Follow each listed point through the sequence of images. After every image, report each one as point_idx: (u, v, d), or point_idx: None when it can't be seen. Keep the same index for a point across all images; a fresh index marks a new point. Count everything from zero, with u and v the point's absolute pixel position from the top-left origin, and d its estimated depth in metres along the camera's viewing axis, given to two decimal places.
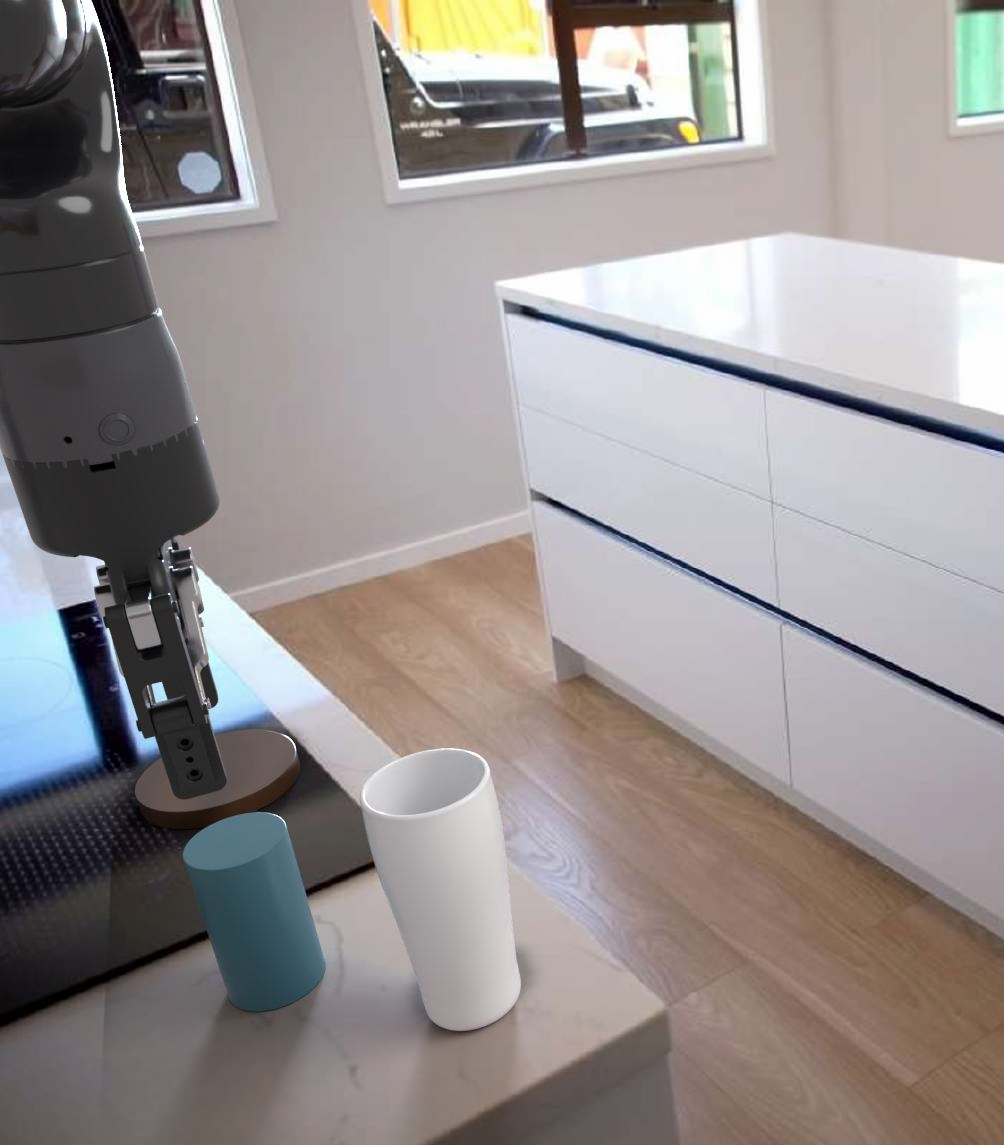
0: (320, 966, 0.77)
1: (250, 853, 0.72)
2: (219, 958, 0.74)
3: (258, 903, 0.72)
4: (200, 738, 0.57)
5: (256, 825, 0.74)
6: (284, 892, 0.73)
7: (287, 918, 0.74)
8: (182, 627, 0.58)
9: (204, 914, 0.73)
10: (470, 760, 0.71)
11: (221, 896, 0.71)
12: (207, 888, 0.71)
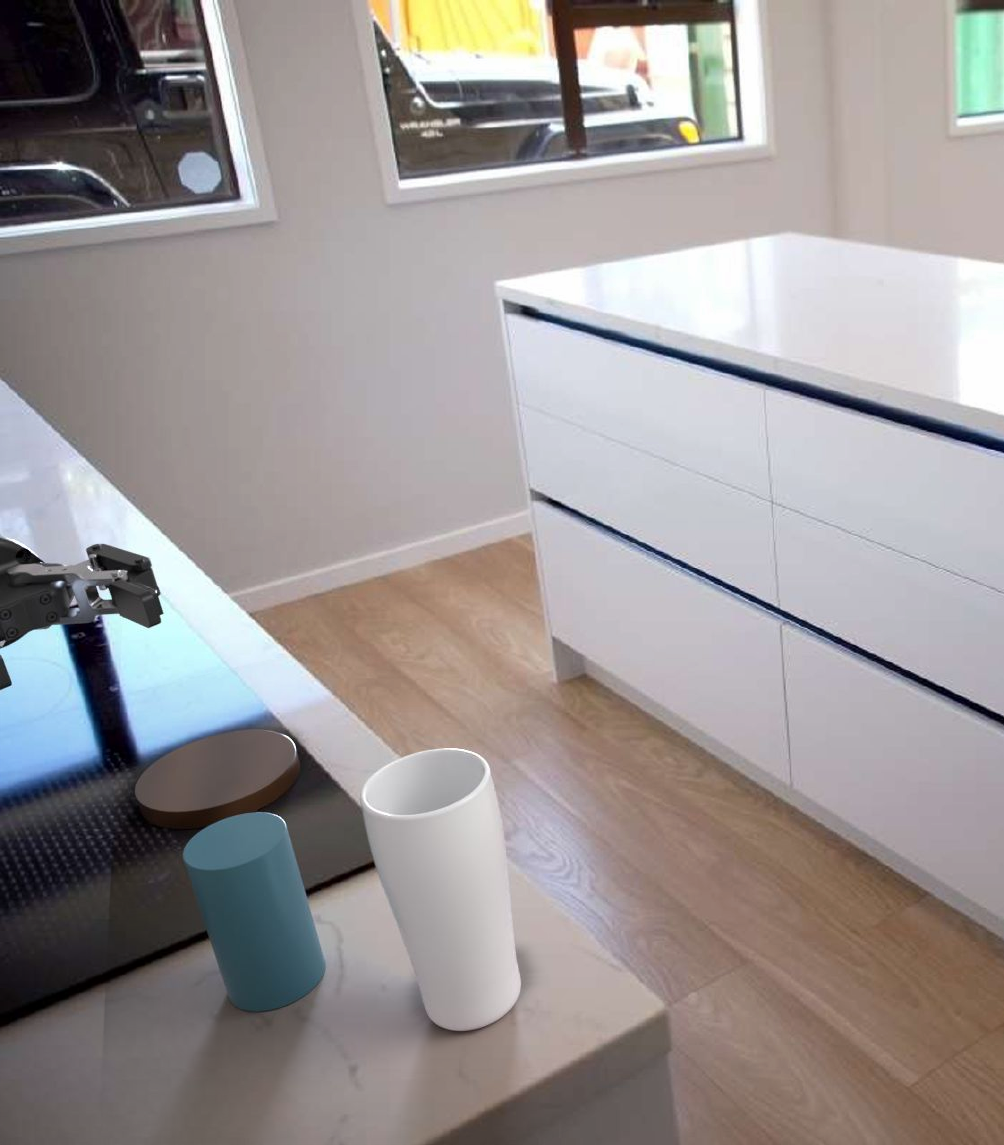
0: (320, 966, 0.77)
1: (250, 853, 0.72)
2: (219, 958, 0.74)
3: (258, 903, 0.72)
4: None
5: (256, 825, 0.74)
6: (284, 892, 0.73)
7: (287, 918, 0.74)
8: None
9: (204, 914, 0.73)
10: (470, 760, 0.71)
11: (221, 896, 0.71)
12: (207, 888, 0.71)
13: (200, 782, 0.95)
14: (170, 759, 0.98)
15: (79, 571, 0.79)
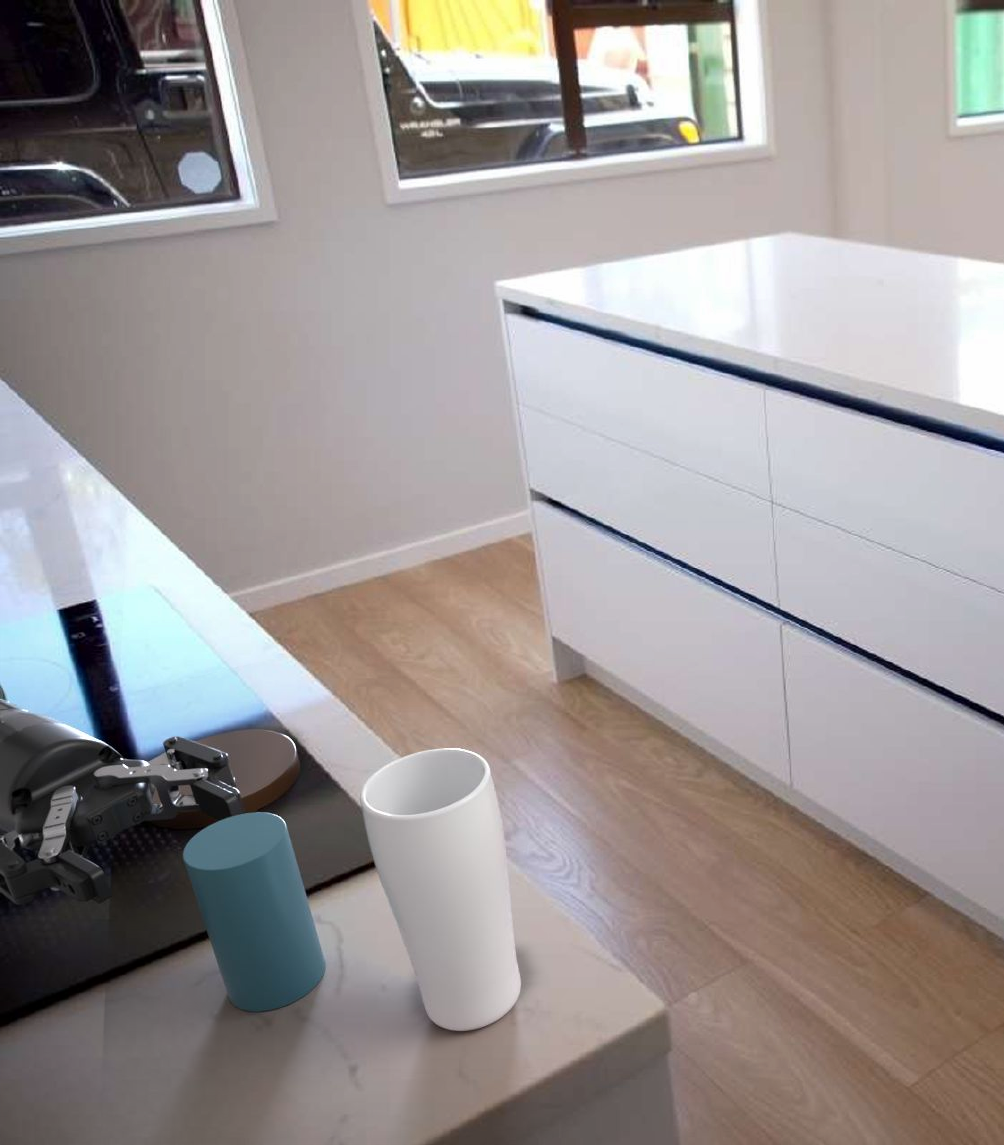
0: (320, 966, 0.77)
1: (250, 853, 0.72)
2: (219, 958, 0.74)
3: (258, 903, 0.72)
4: None
5: (256, 825, 0.74)
6: (284, 892, 0.73)
7: (287, 918, 0.74)
8: None
9: (204, 914, 0.73)
10: (470, 760, 0.71)
11: (221, 896, 0.71)
12: (207, 888, 0.71)
13: None
14: None
15: (163, 772, 0.84)
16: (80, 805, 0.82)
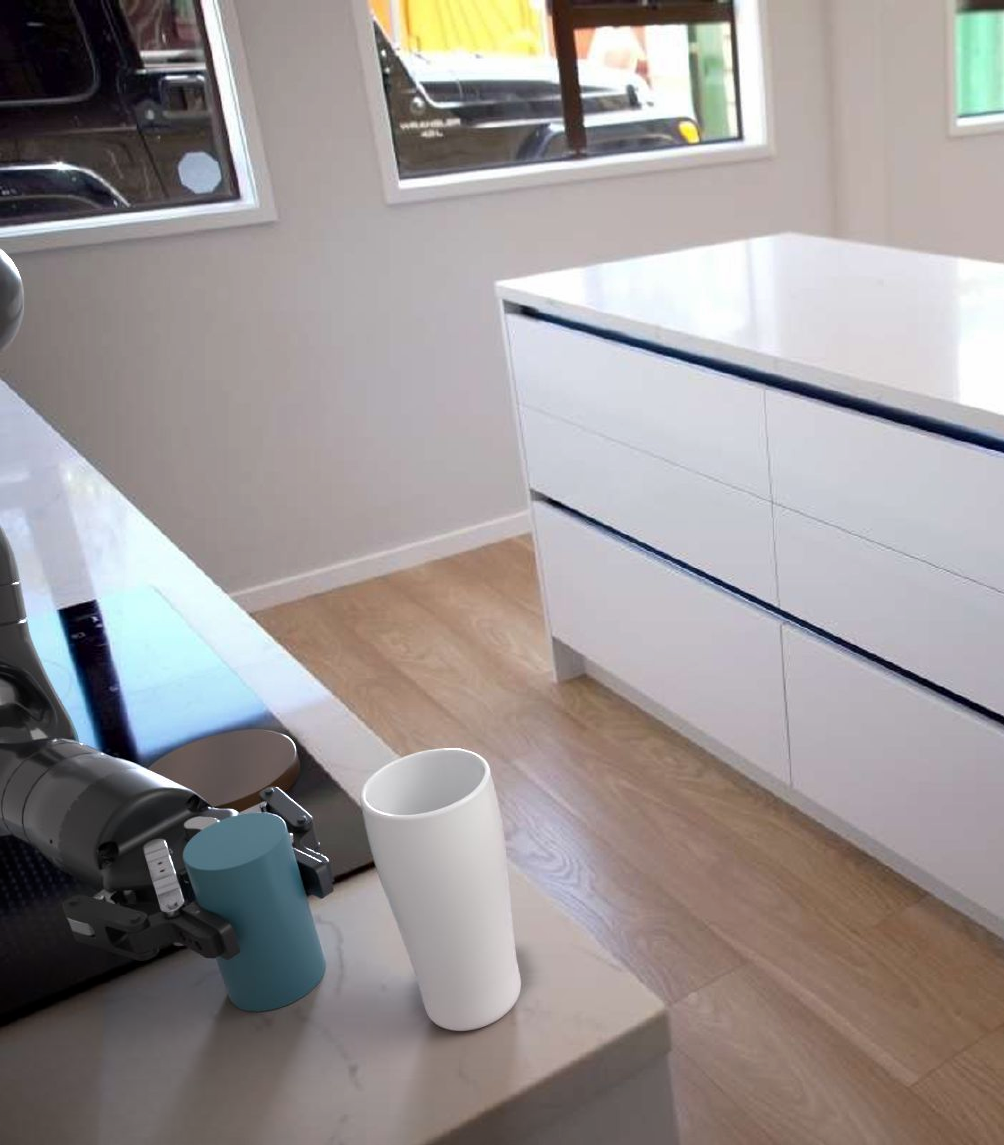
0: (320, 966, 0.77)
1: (250, 854, 0.72)
2: (219, 958, 0.74)
3: (258, 904, 0.72)
4: None
5: (256, 825, 0.74)
6: (284, 892, 0.73)
7: (287, 918, 0.74)
8: None
9: None
10: (470, 760, 0.71)
11: (221, 896, 0.71)
12: (207, 888, 0.71)
13: (200, 782, 0.95)
14: (170, 759, 0.98)
15: None
16: (171, 860, 0.77)
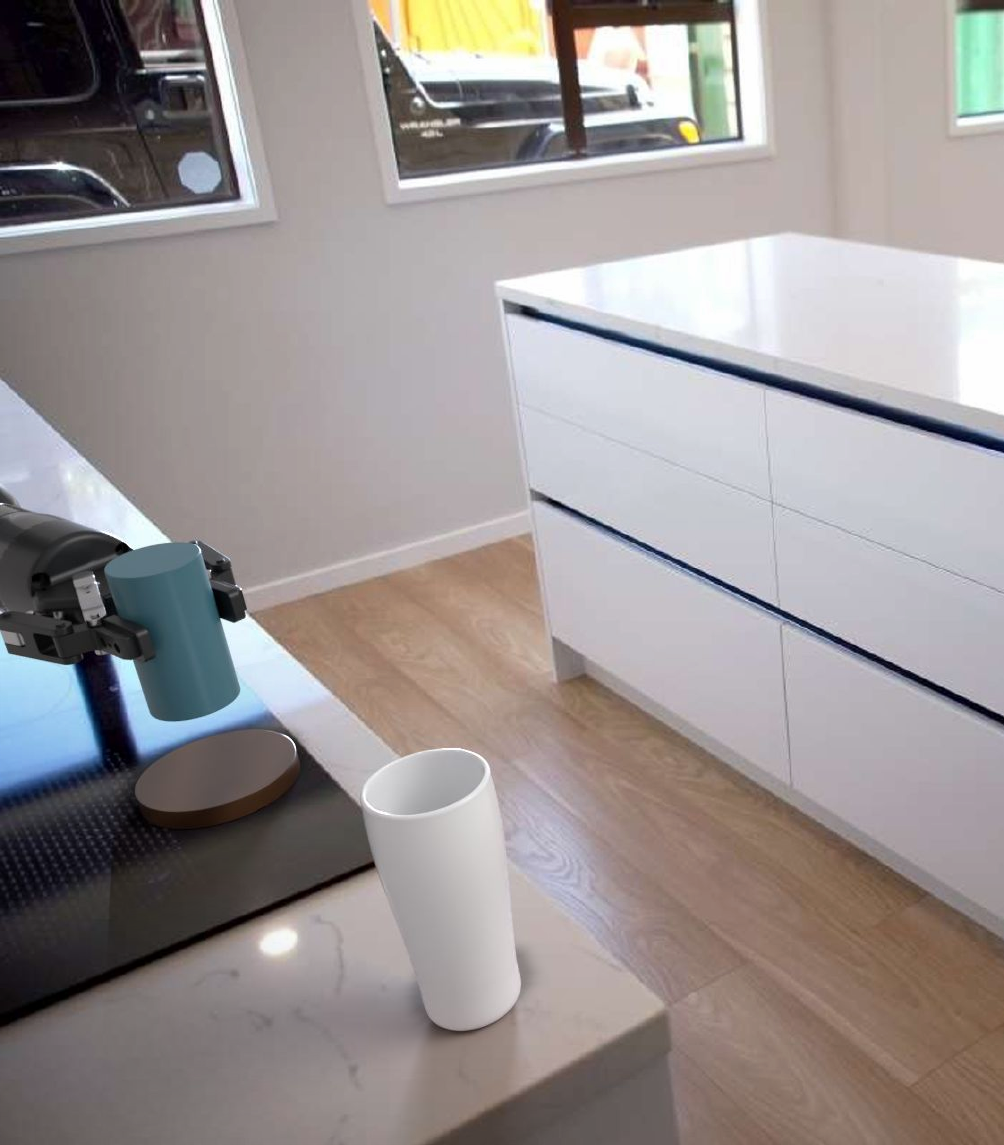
0: (234, 688, 0.84)
1: (165, 567, 0.79)
2: (139, 669, 0.81)
3: (173, 614, 0.79)
4: None
5: (173, 550, 0.81)
6: (198, 608, 0.80)
7: (200, 633, 0.81)
8: None
9: None
10: (470, 760, 0.71)
11: (138, 604, 0.78)
12: (125, 597, 0.78)
13: (200, 782, 0.95)
14: (170, 759, 0.98)
15: None
16: (97, 588, 0.84)
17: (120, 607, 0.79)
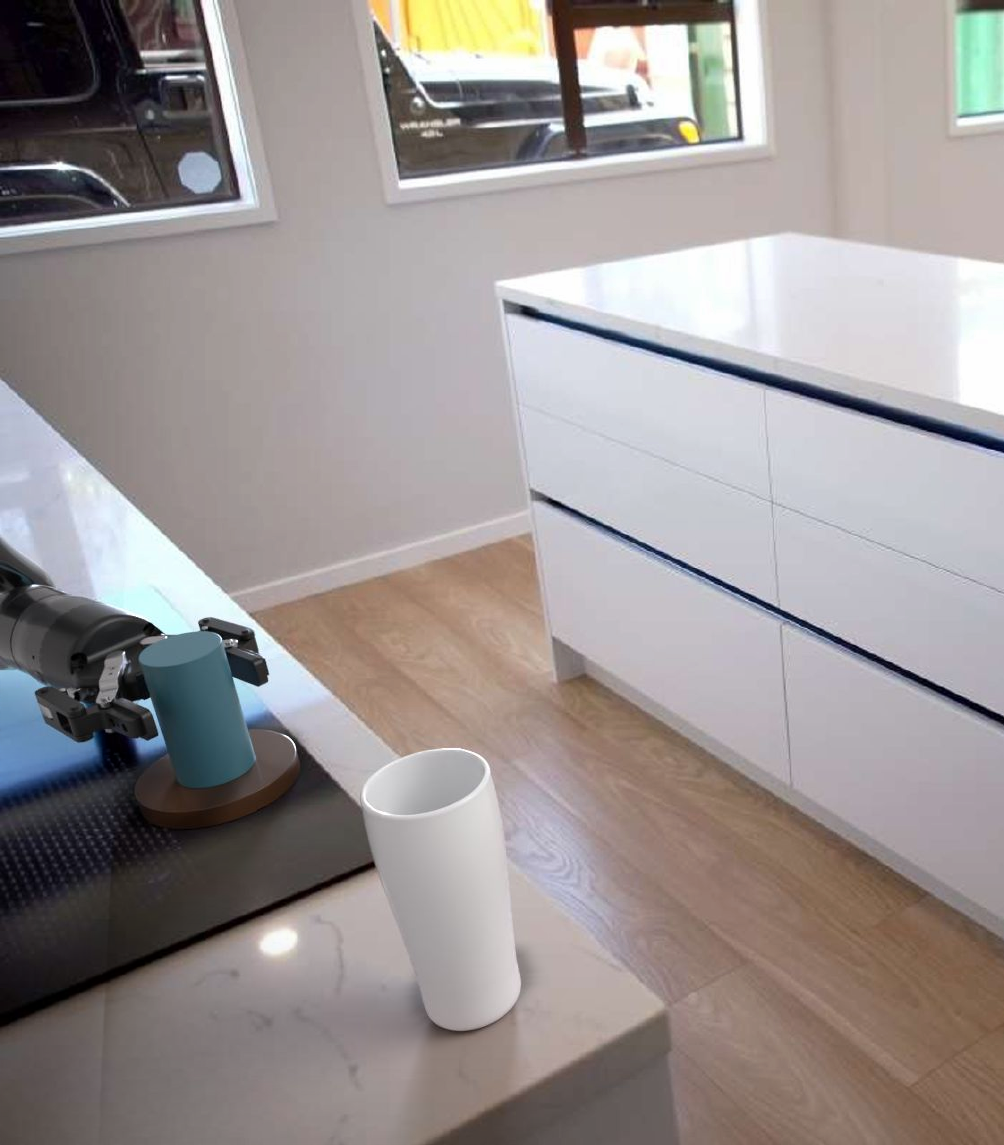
0: (251, 757, 0.96)
1: (191, 656, 0.91)
2: (168, 743, 0.93)
3: (198, 697, 0.91)
4: None
5: (198, 639, 0.93)
6: (219, 690, 0.93)
7: (222, 711, 0.93)
8: None
9: (155, 706, 0.92)
10: (470, 760, 0.71)
11: (168, 689, 0.91)
12: (157, 682, 0.90)
13: None
14: None
15: None
16: (129, 666, 0.95)
17: (152, 691, 0.91)
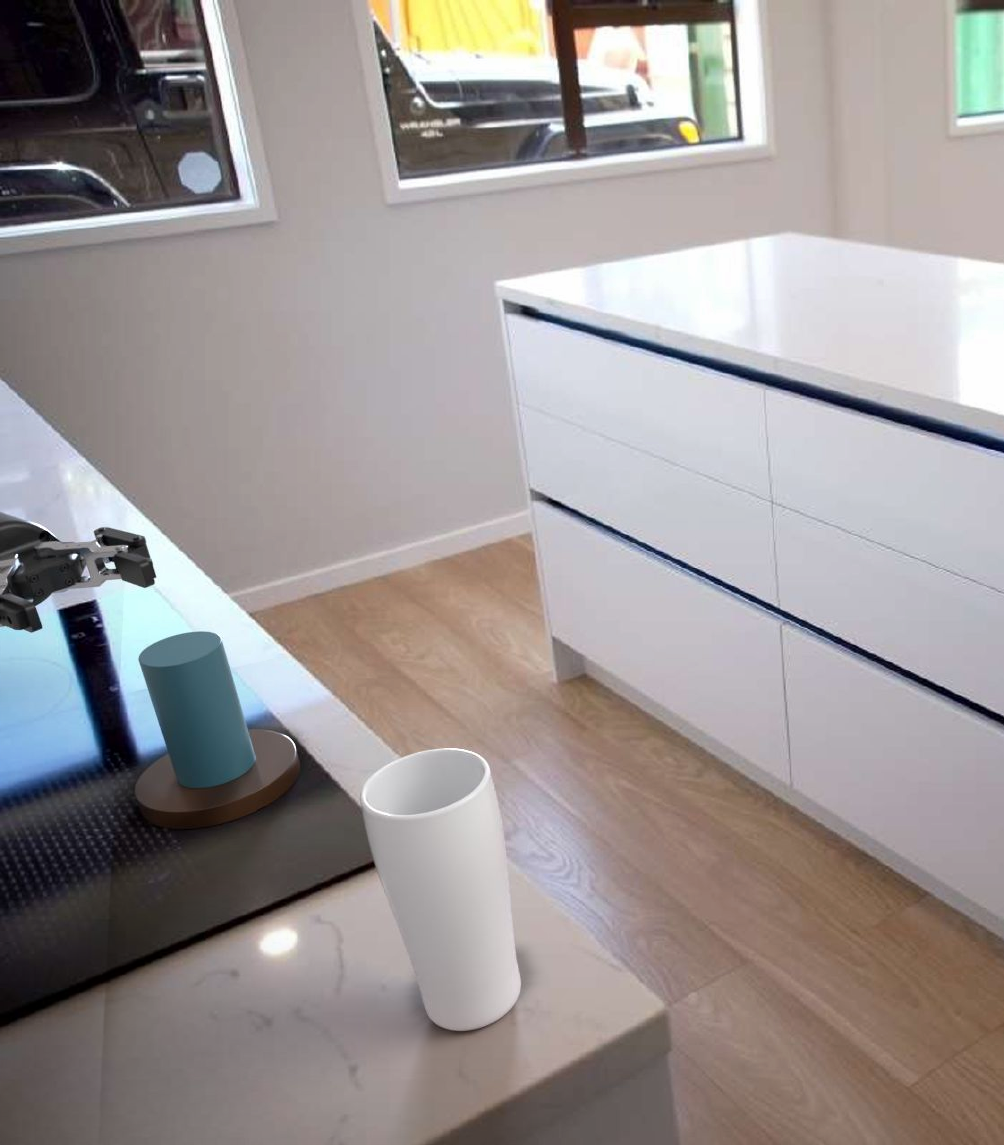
0: (251, 757, 0.96)
1: (191, 656, 0.91)
2: (168, 743, 0.93)
3: (198, 697, 0.91)
4: None
5: (198, 639, 0.93)
6: (219, 690, 0.93)
7: (222, 711, 0.93)
8: None
9: (155, 706, 0.92)
10: (470, 760, 0.71)
11: (168, 689, 0.91)
12: (157, 682, 0.90)
13: None
14: None
15: (90, 546, 1.02)
16: (21, 568, 1.00)
17: (152, 691, 0.91)
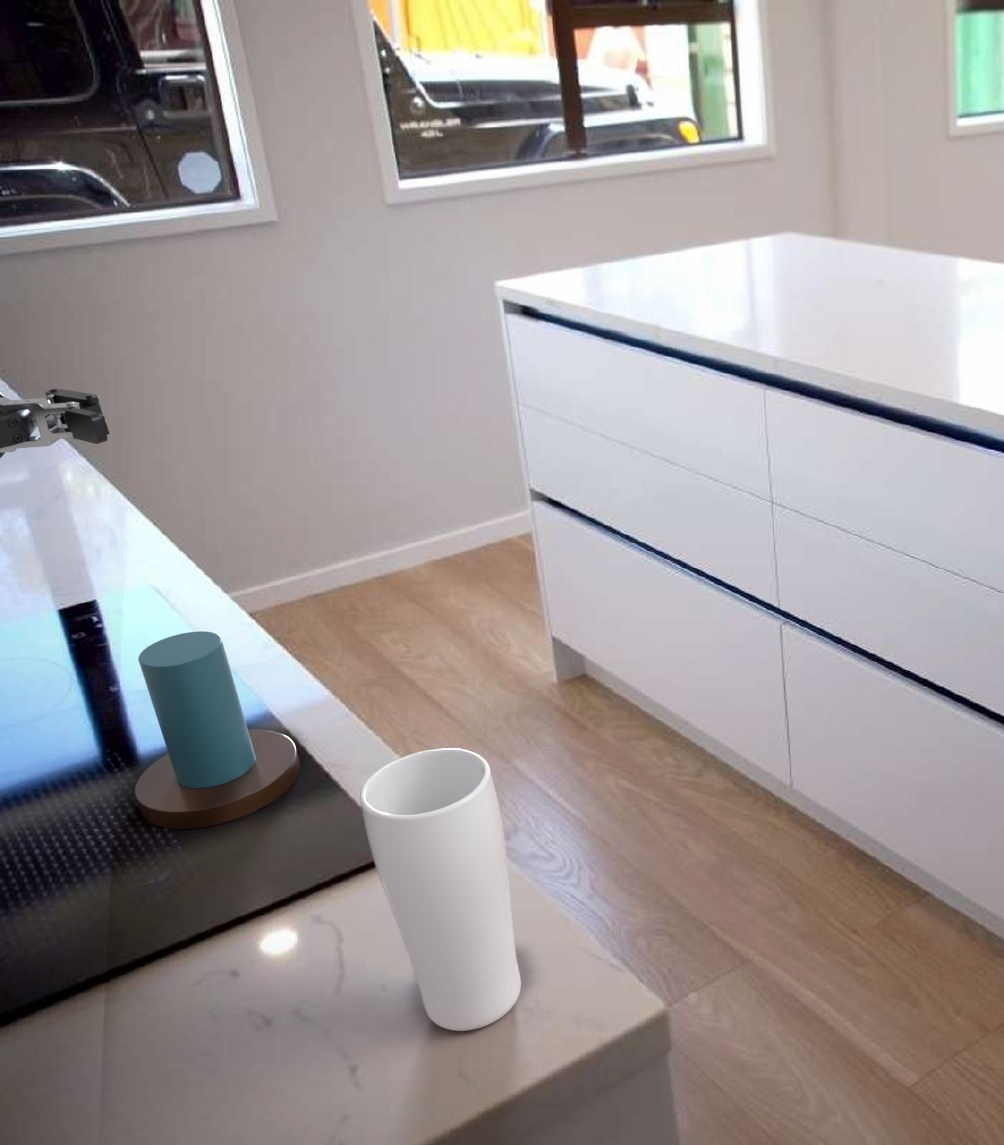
0: (251, 757, 0.96)
1: (191, 656, 0.91)
2: (168, 743, 0.93)
3: (198, 697, 0.91)
4: None
5: (198, 639, 0.93)
6: (219, 690, 0.93)
7: (222, 711, 0.93)
8: (29, 436, 0.99)
9: (155, 706, 0.92)
10: (470, 760, 0.71)
11: (168, 689, 0.91)
12: (157, 682, 0.90)
13: None
14: None
15: (40, 402, 0.97)
16: None
17: (152, 691, 0.91)
